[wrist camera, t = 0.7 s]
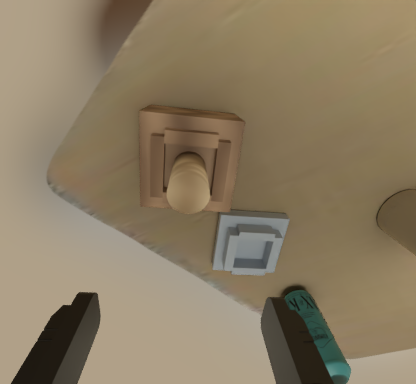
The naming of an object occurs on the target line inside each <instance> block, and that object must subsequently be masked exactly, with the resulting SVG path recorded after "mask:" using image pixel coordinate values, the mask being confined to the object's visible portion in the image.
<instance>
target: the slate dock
mask: <svg viewBox="0 0 416 384" xmlns="http://www.w3.org/2000/svg"><path fill="white" fill-rule="evenodd" d="M289 220H290V219H289V218H288V216H287V215H286V214H285V213H270V212H255V211H240V210H230V212H219V218H218V225H217V231H216V238H215V245H214V251H213V258H212V268H213V270H224V271H231V274H239V275H264V274H265V272H271V273H273V272H274V270H275V267H276V264H277V260H278V257H279V254H280V250H281V247H282V243H283V240H284V237H285V233H286V230H287V227H288V223H289Z"/></svg>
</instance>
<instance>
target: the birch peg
mask: <svg viewBox="0 0 416 384" xmlns="http://www.w3.org/2000/svg"><path fill="white" fill-rule="evenodd" d="M209 199H210V190H209V183H208V177H207V171H206V165H205V161H204V159H203V158H202V157H201V156H200V155H199V154H198V153H196V152H192V151H186V152H183V153H181V154H179V155H178V156H177V157H176V158H175V160H174V163H173V167H172V171H171V176H170V180H169V184H168V189H167V200H168V202H169V204H170V206H171V207H172V208H173V209H175V210H176V211H178V212H180V213H184V214H193V213H197V212H199V211H201V210H202V209H204V208H205V207H206V205H207V204H208V202H209Z"/></svg>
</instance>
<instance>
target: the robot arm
mask: <svg viewBox="0 0 416 384" xmlns="http://www.w3.org/2000/svg"><path fill="white" fill-rule="evenodd" d="M377 222H378V225H379V227H380V228H381V229H382V230H383V231H384V232H386V233H387V234H388V235H390V236H391V237H392V238H393V239H395V240H396V241H397V242H398V243H400V244H401V245H402V246H404V247H405V248H406V249H408V250H409V251H410V252H411V253H413V254H414V255H415V256H416V190H406V191H402V192H399V193H397V194H395V195H394V196H392V197H391V198H389V199H388V200H387V201H386V202H385V203H384V204H383V206H382V207H381V209H380V210H379V213H378V217H377ZM99 324H100V308H99V300H98V294H97V293H88V292H79V293H78V294H77V295H76V297H75V299H74V300H73V302H72V304H71V305H63V306H62V307H61V308H60V309H59V310H58V311H57V312H56V313H55V314H53V315H52V316H51V318H50V320H49V321H48V323H47V325H46V326H45V328H44V331H42V333H41V335H40V336H39V338H38V341H37V342H36V343H35V345H34V347H33V348H32V350H31V351H30V353H29V355H28V356H27V358H26V360H25V361H24V363H23V365H22V366H21V368H20V370H19V371H18V373H17V375H16V376H15V378H14V379H13V381H12V383H11V384H77V383H78V380H79V378H80V375H81V373H82V370H83V367H84V365H85V362H86V360H87V357H88V354H89V352H90V349H91V347H92V344H93V341H94V339H95V336H96V334H97V331H98V328H99ZM261 330H262V334H263V337H264V341H265V345H266V348H267V352H268V355H269V359H270V363H271V366H272V370H273V373H274V376H275V380H276V384H334V382H333V380H332V378H331V376H330V374H329V372H328V370H327V368H326V366H325V363H324V361H323V359H322V357H321V355H320V353H319V351H318V349H317V346H316V344H314V340H313V338H312V336H311V334H310V333H309V329H308V327H307V325H306V323H305V321H304V319H303V318H302V317H301V316H300V315H299V314H298V313H297V311H296V310H289V307H288V305H287V303H286V300H285V299H284V298H281V297H268V298H267V300H266V303H265V306H264V310H263V313H262V317H261Z"/></svg>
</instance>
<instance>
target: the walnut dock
mask: <svg viewBox="0 0 416 384" xmlns="http://www.w3.org/2000/svg"><path fill="white" fill-rule="evenodd" d="M244 127H245V121H243V120H242V119H240V118H239V117H238V116H236V115H235V114H231V113H222V112H213V111H203V110H194V109H185V108H176V107H167V106H158V105H149V106H147V107H145V108H143V109H142V110H140V111H139V148H140V206H141V207H156V208H172V207H171V206H170V204H169V202H168V200H167V189H168V184H169V180H170V176H171V171H172V167H173V163H174V160H175V158H176V157H177V156H178V155H179V154H181V153H183V152H186V151H192V152H196V153H198V154H199V155H200V156H201V157H202V158H203V159H204V161H205V165H206V171H207V177H208V183H209V190H210V199H209V202H208V204H207V205H206V207H205V208H204V209H202V210H203V211H218V212H230V209H231V203H232V197H233V191H234V186H235V180H236V174H237V168H238V162H239V156H240V150H241V145H242V139H243V133H244ZM172 209H173V208H172Z"/></svg>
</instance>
